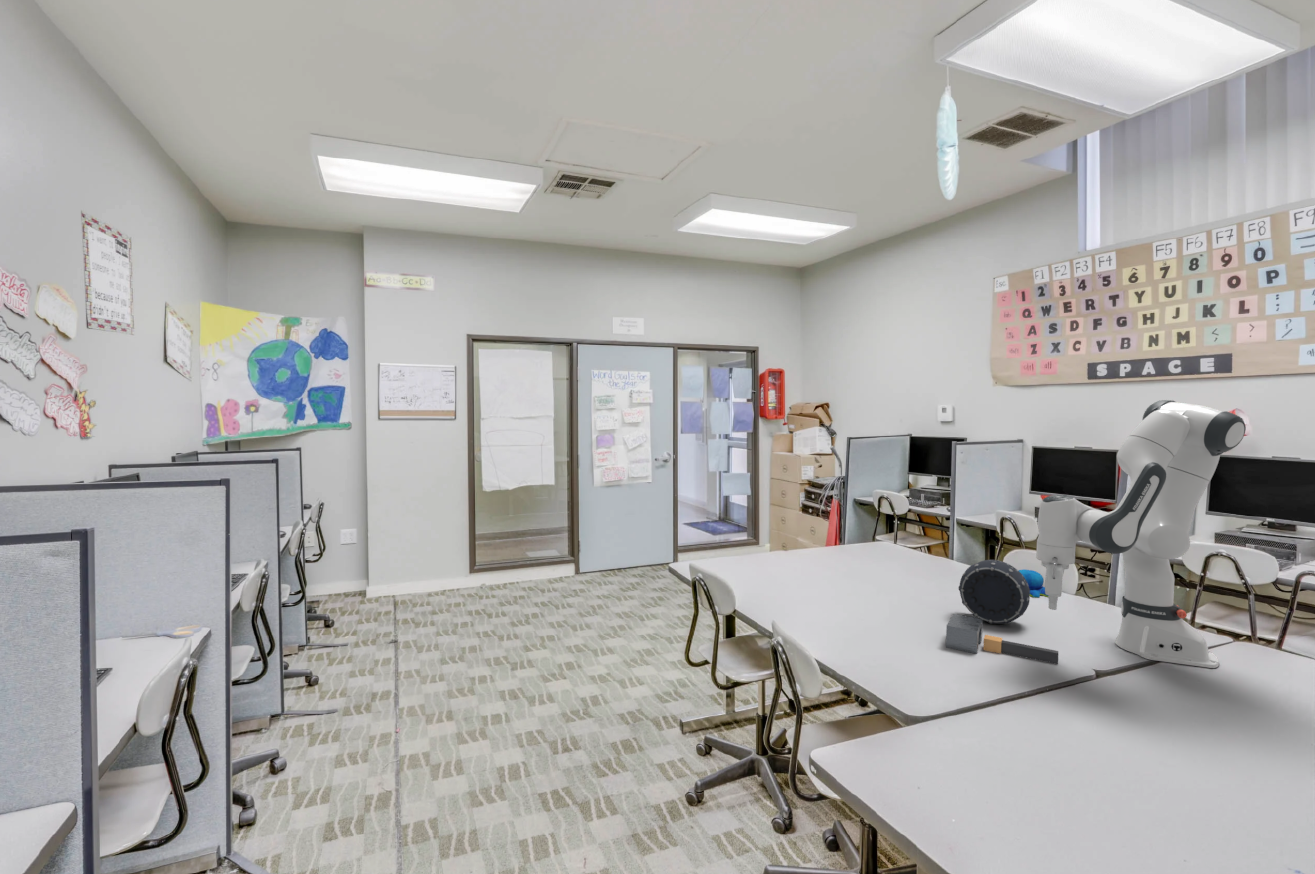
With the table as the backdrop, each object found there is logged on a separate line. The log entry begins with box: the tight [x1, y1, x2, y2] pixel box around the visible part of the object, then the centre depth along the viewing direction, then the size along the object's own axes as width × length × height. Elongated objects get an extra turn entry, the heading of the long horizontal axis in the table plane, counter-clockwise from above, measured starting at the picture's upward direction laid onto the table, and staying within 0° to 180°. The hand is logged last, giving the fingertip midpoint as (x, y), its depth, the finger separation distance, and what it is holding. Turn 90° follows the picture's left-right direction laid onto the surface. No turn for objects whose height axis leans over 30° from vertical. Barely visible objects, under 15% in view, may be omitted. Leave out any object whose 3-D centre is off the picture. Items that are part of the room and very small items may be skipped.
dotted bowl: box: [958, 559, 1031, 625], centre depth 196 cm, size 11×20×20 cm, turn 53°
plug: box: [983, 634, 1059, 665], centre depth 170 cm, size 18×4×3 cm, turn 56°
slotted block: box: [945, 613, 984, 654], centre depth 178 cm, size 8×12×6 cm, turn 146°
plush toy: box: [1017, 569, 1048, 599], centre depth 230 cm, size 17×17×8 cm
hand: (1052, 604), depth 165 cm, fingers open, 8 cm apart
